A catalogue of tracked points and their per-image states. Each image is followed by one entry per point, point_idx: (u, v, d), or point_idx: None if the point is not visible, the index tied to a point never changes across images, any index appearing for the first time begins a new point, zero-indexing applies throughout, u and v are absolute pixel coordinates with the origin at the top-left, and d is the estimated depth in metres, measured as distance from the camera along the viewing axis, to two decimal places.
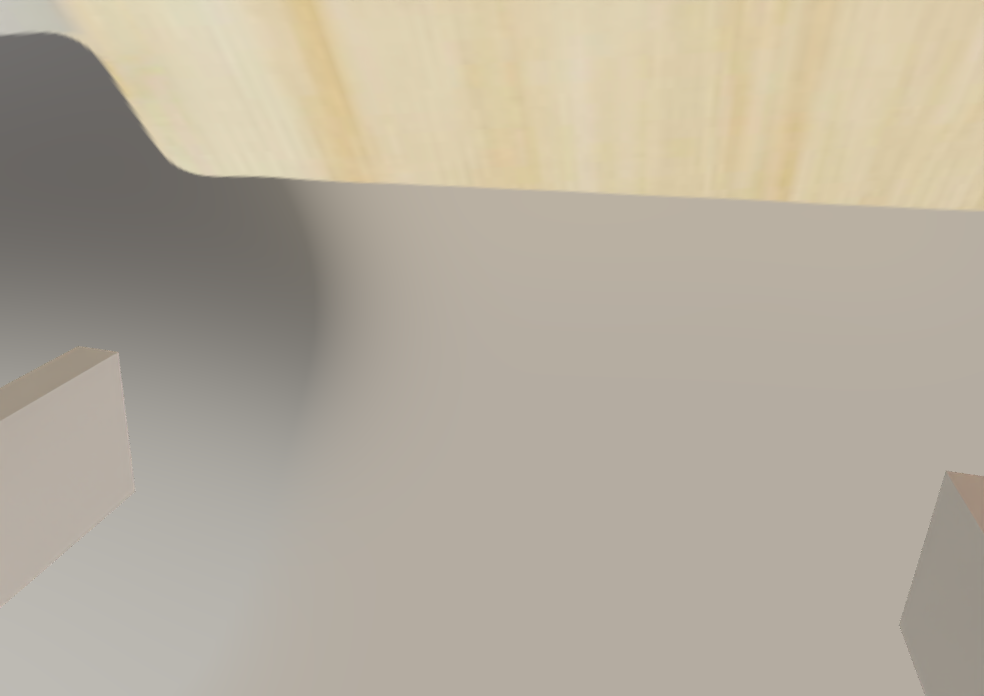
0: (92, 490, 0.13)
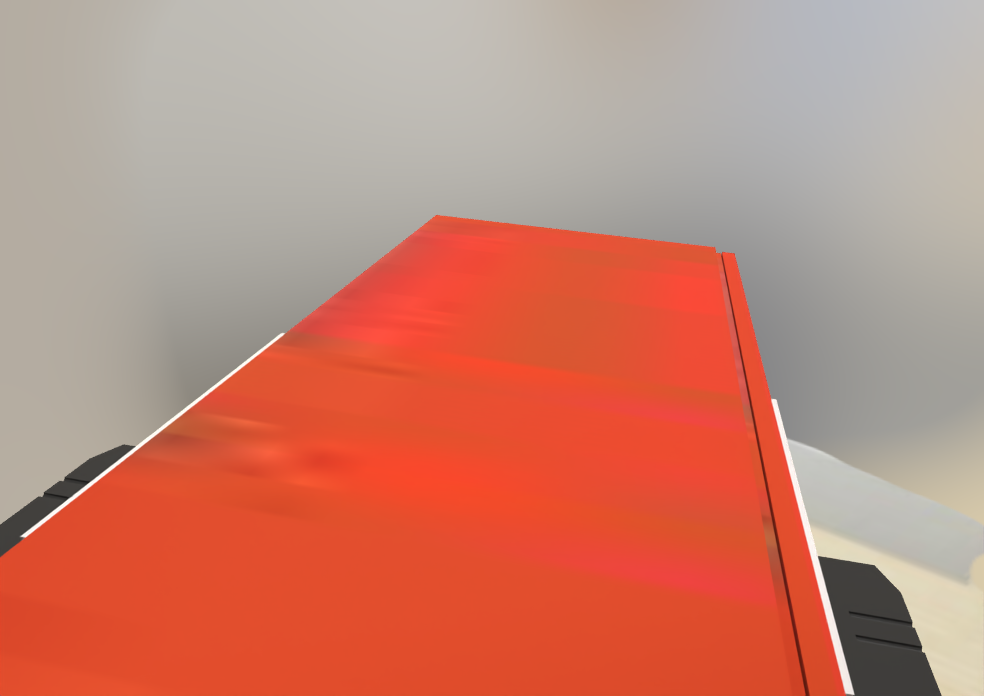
0: None
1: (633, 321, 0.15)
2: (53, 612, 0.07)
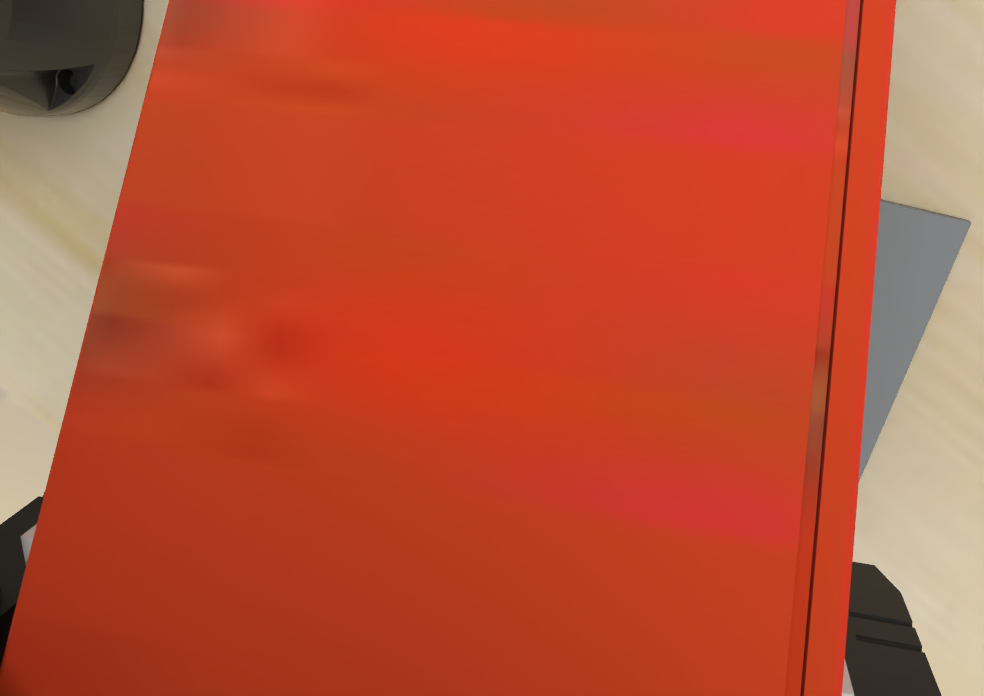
0: None
1: None
2: (103, 640, 0.08)
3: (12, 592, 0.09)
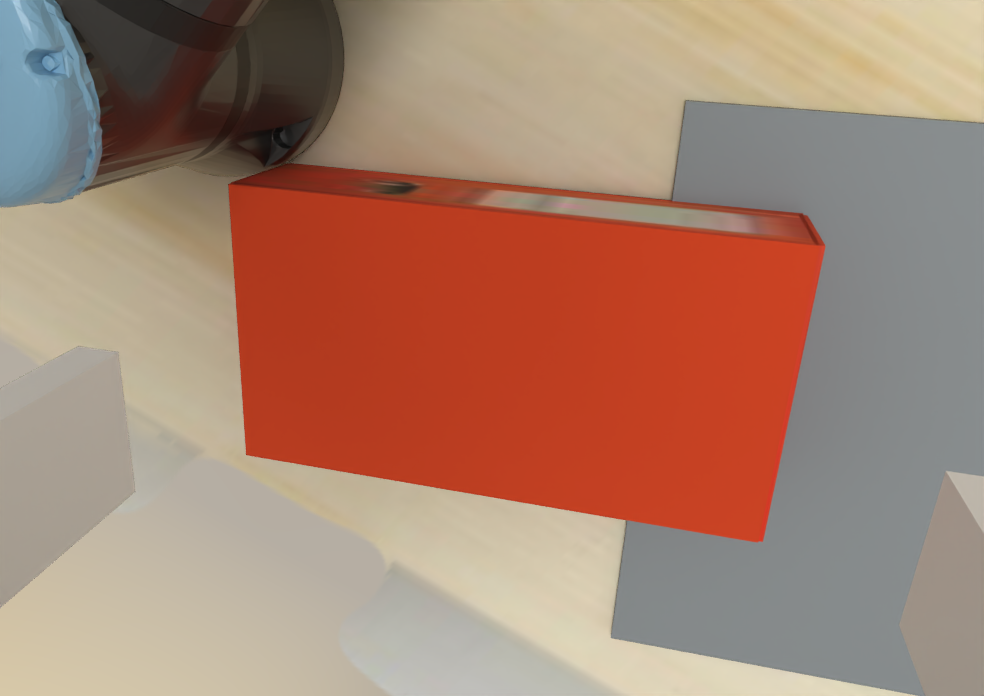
0: (92, 490, 0.13)
1: None
2: None
3: None
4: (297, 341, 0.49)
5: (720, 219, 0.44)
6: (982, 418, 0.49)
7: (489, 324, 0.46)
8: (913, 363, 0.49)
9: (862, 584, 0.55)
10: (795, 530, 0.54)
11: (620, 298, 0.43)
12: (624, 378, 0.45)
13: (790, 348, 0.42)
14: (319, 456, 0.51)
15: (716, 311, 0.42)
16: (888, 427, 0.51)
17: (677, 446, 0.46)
